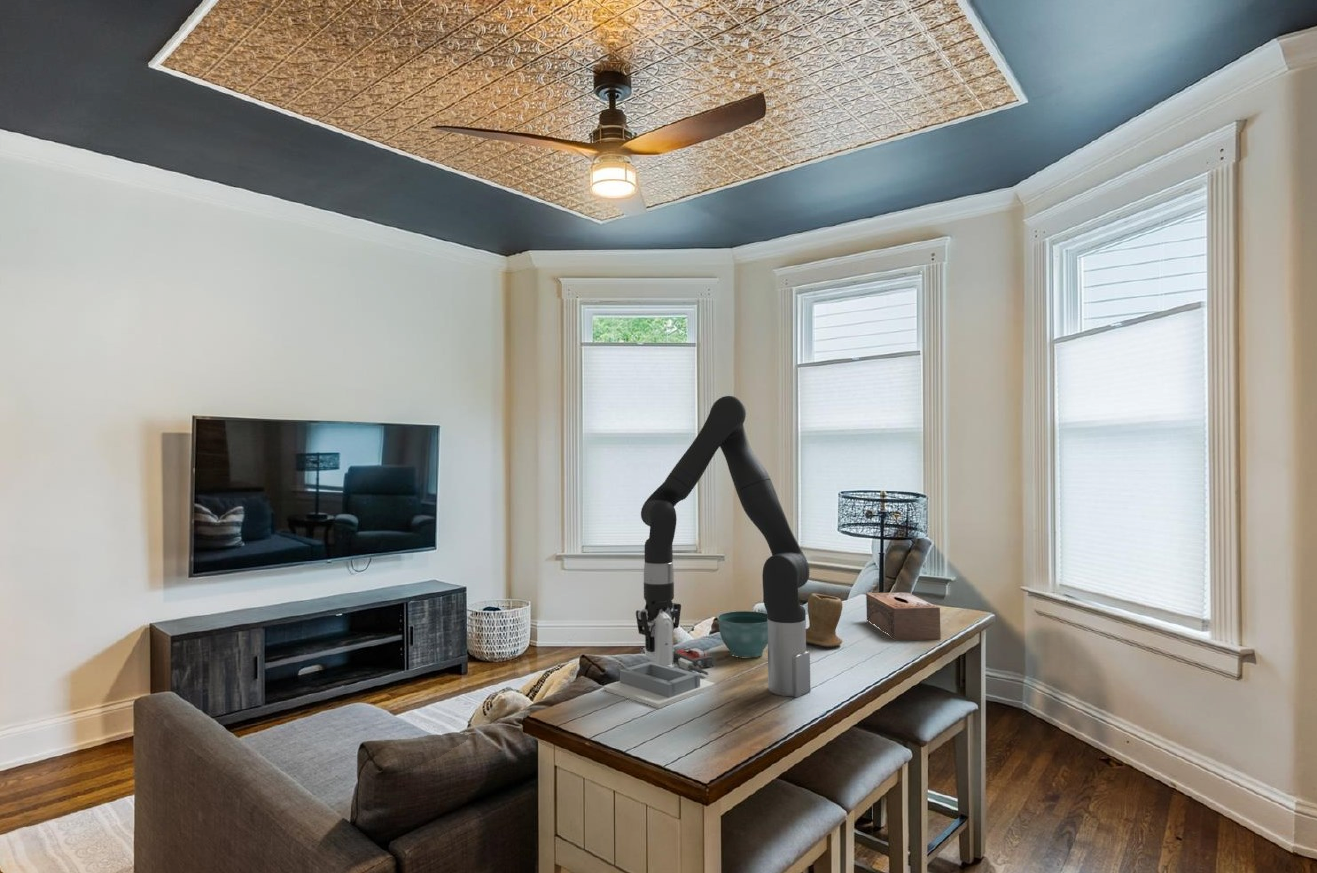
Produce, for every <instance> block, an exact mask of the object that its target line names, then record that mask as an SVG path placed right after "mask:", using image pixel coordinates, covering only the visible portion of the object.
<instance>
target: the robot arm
mask: <svg viewBox="0 0 1317 873" xmlns="http://www.w3.org/2000/svg"><path fill="white" fill-rule="evenodd" d="M746 412H747V411H746V407H745V405H744V402H743V401H742V400H741V399H739V398H738V397H736V396H733V395H725V396H721V397H719V398H718V399H717V400H716V401H714V403H713V405H712V406H711V408H710V411H709V414H708V416H707V418H706V420H705V421H704V422H705V423H704V424H703V426H702V428H701V429H700V431H699V433H698V434H697V436H696V437H695V438H694V440H693V441H692V443H691V444H690V445H689V447H688V448H687V450H686V451H685V453H684V454H683V455H682V456H681V458H680V459H679V460H678V461H677V463H676V464H675V466H674V467H673V468H672V470H671V471H670V472H669V474H668V475H667V477H666V478H665V480H664V482H662V484H661V485H659V487H657V488H656V489H655V490H654V491H653V493H651V495H650V496H649V497H648V498H647V499H646V501H644V503H643V504H642V508H641V510H640V517H641V520H642V522H643V523H644V524H645V525H646V526H648V527H649V535H648V539H646V540H645V543H644V565H643V599H644V600H645V605H644V608H643V609H642V610H639V609H638V610H636V611H635V616H636V623H637V624H636V625H637V630H638V634H639V635H642V636H644V637H645V640H644V648H645V647H646V650H647V651H649V652H654V651H655V637H654V634H655V625H656V622H655V621H654V623H651V622H650V620H651V621H653V620H654V619H656V617H657V616H658V615H659V614H660V613H662V612H663V611H664V612H665V613H666V614H668V615H669V617H670V618H671V620H672V622H673V632H674V630H675V629H678V628H679V626H680V618H681V609H682V605H681V603H677V602H673V600H674V598H675V579H674V578H675V574H674V572H675V571H674V562H673V561H674V560H673V559H674V558H673V555H674V553H673V542H674V539H675V534H676V527H677V511H676V508H675V506H676V505H677V504H678V503H679V502H680V501H683V500H685V499H687V498H688V497H689V495H690V494H691V492H692V491H693V489H694V488H695V487H696V485H697V484H698V483H699V481H700V480H701V478H702V476H703V474H704V473H705V472H706V469H707V468H708V466H709V464H710V462H711V460H712V459H713V457H714V456H715V454H716V452H717V451H718V449H719V448H720V449H721V451H722V454H723V456H724V458H725V461H726V464H727V468H728V471H729V473H730V474H729V475H730V477H731V480H732V482H733V486H734V488H735V492H736V494H737V497H738V499H739V502H740V505H741V507H742V508H743V511H744V512H745V514H746V515H747V517H748V519H750V521H751V522H752V523H753V525H755V527H756V528H757V529H758V530H759V532H760V533H761V534H762V535H763V538H764V539H765V541H766V543H767V545H768V547H769V550H770V553H771V556H769V557H768V558H767V559H765V562H764V564H763V568H762V575H761V576H762V592H763V594H762V596H763V605H764V608H765V611H766V613H767V624H768V644H767V675H768V678H767V679H768V680H767V681H768V682H767V683H768V691H769V692H770V693H772V694H774V695H777V696H783V697H794V698H798V697H801V696H803V695H805V694H807V693H810V692H811V654H810V651H809V650H807V643H806V629H807V624H806V622H807V620H806V618H807V617H806V609H805V607H804V606H803V605H801V603H800V601H799V588H802V587H803V586H805V585H806V583H808V581H809V578H810V567H809V563H808V560H807V558H806V556H805V555H804V553H803V550H802V549H801V547H800V545H799V543H798V541H797V539H796V537H795V535H794V533H793V531H792V530H791V527H790V525H789V522H788V520H787V517H786V514H785V512H784V510H783V507H782V505H781V501H780V500H779V497H778V493H777V491H776V488H775V487H774V484H773V482H772V480H771V477H770V475H769V474H768V472H767V470H766V468H765V467H764V465H763V464H762V462H761V461H760V460H759V458H758V457H757V456H756V455H755V453H754V451H753V450H752V448H751V446H750V443H749V440H748V436H747V435H746V434H747V433H746V431H745V426H744V423H745V420H746V417H747V416H746V415H747V413H746ZM650 627H651V630H650ZM649 630H650V631H649Z"/></svg>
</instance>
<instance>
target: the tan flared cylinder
mask: <svg viewBox="0 0 1317 873" xmlns="http://www.w3.org/2000/svg"><path fill="white" fill-rule="evenodd" d="M842 612H843V601H842V600H841V598H839V597H837V596H831V595H826V594H822V593H821V594H820V593H814V592H813V593H811V594H810V595H809V597H808V600H807V615H808V621H809V624H808V628H807V627H806V644H811V645H814V646H815V645H816V646H821V647H838V646H840V645H841V644H842V643H843V640H842V639H841V638H840V637H839V636H837V632H836V630H837V626H838V624H839V622H840V620H841V616H842Z"/></svg>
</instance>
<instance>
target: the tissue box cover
mask: <svg viewBox="0 0 1317 873" xmlns="http://www.w3.org/2000/svg"><path fill="white" fill-rule="evenodd" d="M865 595H866V596H865V598H866V600H865V603H866V604H865V605H866V607H865V608H866V621H867V620H868V621H870V622H871V623H872V624H875V625H876V626H877V627H879V628H880V629H881V630H882V631H884V632H886V633H888V634H889V635H890V636H891V637H892V638H891V637H890V636H889V637H890V638H891V639H893V638H894V639H895V641H913V640H916V641H917V640H918V641H919V640H920V641H921V640H922V641H923V640H925V639H927V640H941V638H942V637H941V633H942V632H941V631H942V630H941V607H939V606H938V605H935V604H932V603H931V602H929V601H926V600H925V599H922V598H920V597H918V596H915V595H914V594H912V593H910V592H866V594H865ZM882 631H881V632H882ZM894 639H893V640H894Z"/></svg>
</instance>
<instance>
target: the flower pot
mask: <svg viewBox="0 0 1317 873" xmlns="http://www.w3.org/2000/svg"><path fill="white" fill-rule="evenodd" d="M716 617H717V622H718V629H719V635H720V637H721V640H722V642H723V643H724V645H725V646H726V648H727V649H728V651H729V652H728V653H729V654H731V655H730V656H732V655H734V656H738V657H748V658H747V659H752V658H751V657H756V658H759V656H760V657H762V655H763V653H764V650H765V648H766V647H768V624H767V612H763V611H761V612H760V611H751V610H739V611H738V610H736V611H727V612H723V613H720V614H719V615H718V616H716ZM734 656H733V657H734ZM738 657H737V658H738ZM749 657H750V658H749Z"/></svg>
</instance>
